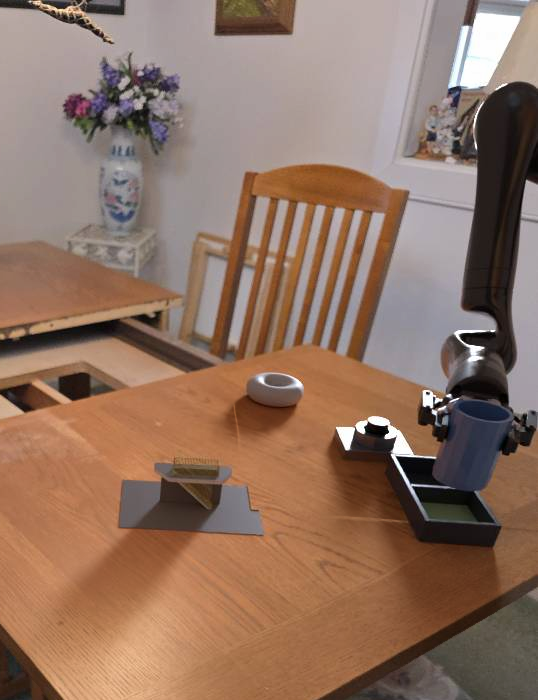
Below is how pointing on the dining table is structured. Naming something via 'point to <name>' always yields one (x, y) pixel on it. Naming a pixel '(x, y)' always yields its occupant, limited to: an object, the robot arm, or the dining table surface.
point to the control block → (369, 444)
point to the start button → (377, 426)
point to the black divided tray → (440, 505)
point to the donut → (275, 389)
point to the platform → (189, 500)
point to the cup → (472, 444)
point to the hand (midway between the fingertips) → (475, 441)
